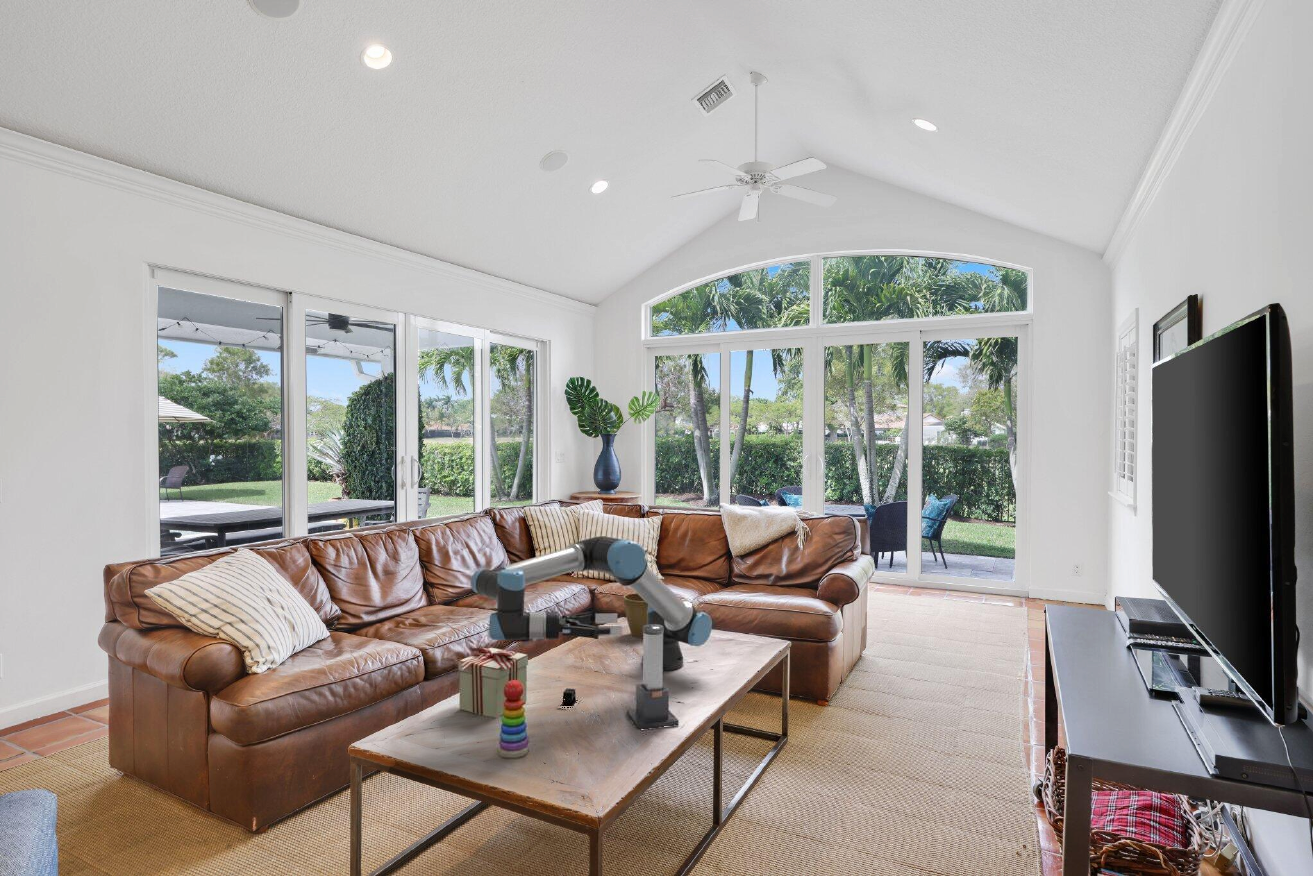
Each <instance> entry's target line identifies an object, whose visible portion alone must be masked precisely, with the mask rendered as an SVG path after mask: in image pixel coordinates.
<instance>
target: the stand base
mask: <svg viewBox="0 0 1313 876" xmlns="http://www.w3.org/2000/svg"><path fill="white" fill-rule="evenodd" d="M669 698H670V691H669V689H668V688H667V687H666V686H665V685H664V684H663V683H662V690H657V691H647V692H646V691H645V690H644V688H643V683H638V684H636V685H635V708H632V709H631V708H629V709H626V712H625V713H626V714H627V715H628V716H627V715H626V716H627V717H629V718H628V719H629V720H630V721H632V722H633V723H632V722H631V723H632V724H633V726H634V725H635V726H636V727H635V726H634V727H635V728H636V730H637V729H638V730H640V731H642V730H641V729H648V730H650V729H649V728H656V729H660V728H659V727H664V726H673V727H675V726H674V725H679V723H680V721H679V719H678V718H677V717H676V716H675V715H674V714H673V712H671V711H670V709H669V707H670V704H669V702H670V700H669ZM664 728H665V727H664ZM638 730H637V731H638Z"/></svg>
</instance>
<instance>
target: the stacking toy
mask: <svg viewBox="0 0 1313 876" xmlns="http://www.w3.org/2000/svg"><path fill="white" fill-rule="evenodd" d="M523 691H524V689H523V685H522V684H521V683H520V682H519V681H517V680H512V681H509V682H508V683H507V684H506V685H505V687H504V695H505V697H506V698H507V699H506V700H505V701H504V707H505V708H504V710H503V714H504V715H502V716H501V722H502V723H501V724H500V732H499V738H500V739H499V743H498V744H499V746H498V748H497V752H498V755H500V756H501V757H502V758H505V759H517V758H521V757H524V756H526V755H527V754H528V752H529V751H530V744H529V742H530V739H529V736H528V729H527V723H526V715H525V712H526V711H525V710H526V708H525V707H524V703H523V699H522V698H520V697H521V696H522V694H523Z"/></svg>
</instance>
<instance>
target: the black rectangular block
mask: <svg viewBox="0 0 1313 876" xmlns="http://www.w3.org/2000/svg"><path fill="white" fill-rule="evenodd" d="M576 693H577V692H576V688H568V687H567V688H565V689H564V691H563V692H562V701H563V702H562V701H561V702H562V704H561V705H560V706H574V704H575V703H577V702H576V701H578V700H576V696H577V695H576ZM564 699H565V700H564ZM562 708H563V707H562ZM564 708H565V707H564ZM567 708H569V707H567ZM570 708H571V707H570ZM572 708H573V707H572Z"/></svg>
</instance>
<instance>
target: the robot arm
mask: <svg viewBox="0 0 1313 876" xmlns="http://www.w3.org/2000/svg"><path fill="white" fill-rule="evenodd" d="M646 556H647V555H646V551H645V549H644V548H643V547H642V546H641V545H640V544H639V543H638V542H635V541H633V540H630V539H625V538H623V539H621V538H616V537H609V536H607V535H606V536H605V535H602V536H601V535H600V536H594V537H593V536H592V537H591V538H590V537H589V538H586V539H583V540H580V541H579V540H578V541H576V542H575V541H574V542H573V543H569V544H568V545H567V547H566V548H563V549H560V550H556V551H553V552H550V553H545V554H542V555H539V556H536V557H532V558H527V559H524V560H522V561H519V562H515V563H510V564H508V565H503V566H501V567H496V568H493V569H489V568H481V569H477V570H476V571H475V572H473V574H472V575H471V578H470V588H471V589H472V591H473V592H475V594H478V595H479V596H482V597H486V598H490V599H492V600H495V601H496V604H497V605H496V611H495V612H492V613H490V615H489V623H488V632H489V633H488V635H489V638H490V639H491V640H494V641H519V640H520V641H521V640H532V641H534V642H536V641H537V640H544V638H545V639H547V640H558V639H559V638H560V633H562V636H563V637H565V636H567V637H570V636H571V637H578V638H579V637H580V638H589V639H594V640H599V637H605V636H606V637H608V636H612V637H613V636H622V635H623V625H622V624H618V612H616V613H615V612H613V613H611V612H610V613H596V611H595V610H592V611H588V612H580V613H574V614H562V615H561V618H560V612H559V611H547V612H546V613H545V612H544V611H527V612H526V611H525V589H526V586H528V585H532V584H535V583H538V582H542V581H546V580H548V579H551V578H555V577H557V576H562V575H564V574H568V573H571V572H575V573H581V572H586V571H591V572H592V571H593V572H599V573H603V574H607V575H610V576H611V577H612V578H613V579H614V580H615V581H616V582H617V583H619V585H621V586H623V587H630V588H631V589H632V591H634V592H635V593H637V594H638V595H639V596H640V597H641V598H642V599H643V600H645V601H646V602H647V603H648V610H647V625H648V624H658V625H662V626H663V627H664V632H663V671H672V670H678V669H681V668H682V667H683V666H684V656H683V652H682V649H681V646H680V645H681V644H680V642H681V643H683V644H687V645H688V646H691V647H701V646H702V645H704V644H706V642H707V641H708V639H709V638H710V636H711V633H712V628H713V622H712V618H711V616H710V615H709V614H708V613H706V612H704V611H699V610H698V609H697V608H696V607H695V606H694V605H693V604H692V603H690V602H689V601H687V600H681V599H680V598H679V596H677V594H676V593H674V592H673V590H672V589H671V588H669V586H667V585H666V584H665V583H664V582H663V581H662V580H661V579H660V578H659V576H657V575H656V574H655V573H654V571H652V569H650V568H649V567H648V566H649V565H648V559H647V558H646ZM593 623H595V624H600V625H598V626H596V625H590V624H593ZM601 624H602V625H601ZM603 624H604V625H603ZM607 624H608V625H607ZM641 665H642V666H643V655H642V657H641Z"/></svg>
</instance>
